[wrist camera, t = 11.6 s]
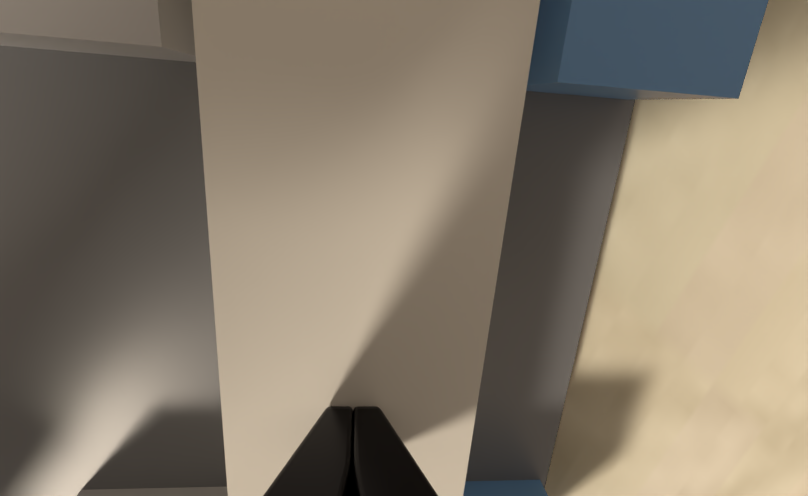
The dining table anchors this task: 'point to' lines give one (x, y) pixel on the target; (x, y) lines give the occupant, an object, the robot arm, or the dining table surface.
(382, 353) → the long white plank
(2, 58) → the miniature block city
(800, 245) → the dining table surface
